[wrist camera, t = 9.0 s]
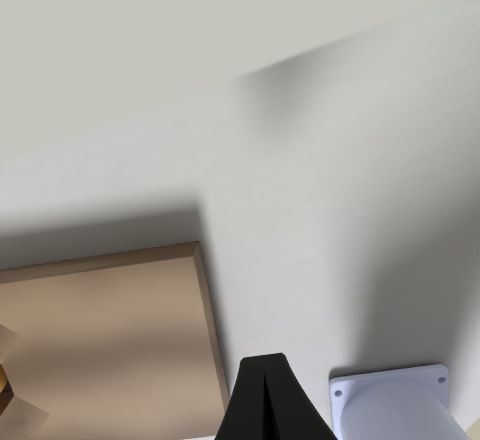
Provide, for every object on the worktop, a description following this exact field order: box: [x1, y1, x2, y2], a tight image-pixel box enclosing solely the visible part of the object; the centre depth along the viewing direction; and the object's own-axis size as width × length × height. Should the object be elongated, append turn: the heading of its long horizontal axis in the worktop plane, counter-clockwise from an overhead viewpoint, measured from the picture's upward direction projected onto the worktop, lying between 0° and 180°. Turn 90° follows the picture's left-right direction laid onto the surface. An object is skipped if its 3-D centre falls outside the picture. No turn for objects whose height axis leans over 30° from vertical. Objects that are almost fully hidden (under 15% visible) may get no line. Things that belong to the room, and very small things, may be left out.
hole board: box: [0, 241, 230, 440], centre depth 19 cm, size 12×20×2 cm, turn 99°
